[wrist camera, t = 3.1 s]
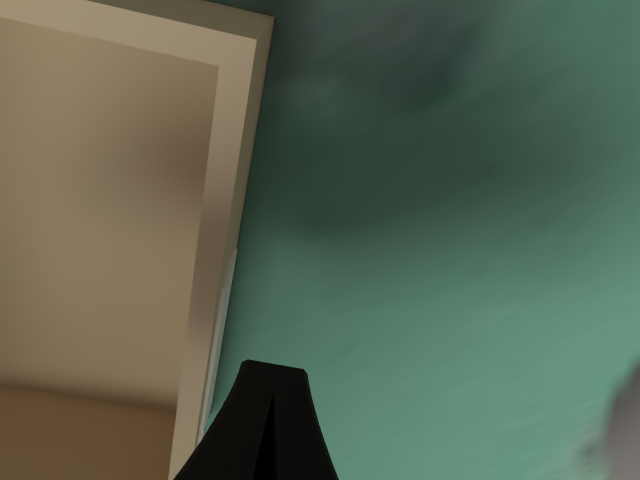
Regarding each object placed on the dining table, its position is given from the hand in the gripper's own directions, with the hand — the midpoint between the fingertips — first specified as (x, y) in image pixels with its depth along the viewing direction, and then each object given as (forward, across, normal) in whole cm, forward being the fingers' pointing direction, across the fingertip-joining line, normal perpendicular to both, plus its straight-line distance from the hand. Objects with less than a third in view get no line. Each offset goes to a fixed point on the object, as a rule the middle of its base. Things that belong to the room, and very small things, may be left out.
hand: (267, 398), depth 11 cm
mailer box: (+6, +6, 0) cm, 9 cm away
